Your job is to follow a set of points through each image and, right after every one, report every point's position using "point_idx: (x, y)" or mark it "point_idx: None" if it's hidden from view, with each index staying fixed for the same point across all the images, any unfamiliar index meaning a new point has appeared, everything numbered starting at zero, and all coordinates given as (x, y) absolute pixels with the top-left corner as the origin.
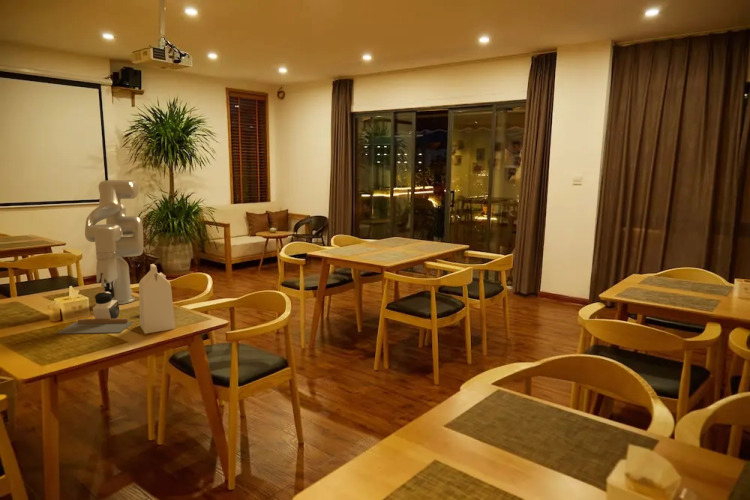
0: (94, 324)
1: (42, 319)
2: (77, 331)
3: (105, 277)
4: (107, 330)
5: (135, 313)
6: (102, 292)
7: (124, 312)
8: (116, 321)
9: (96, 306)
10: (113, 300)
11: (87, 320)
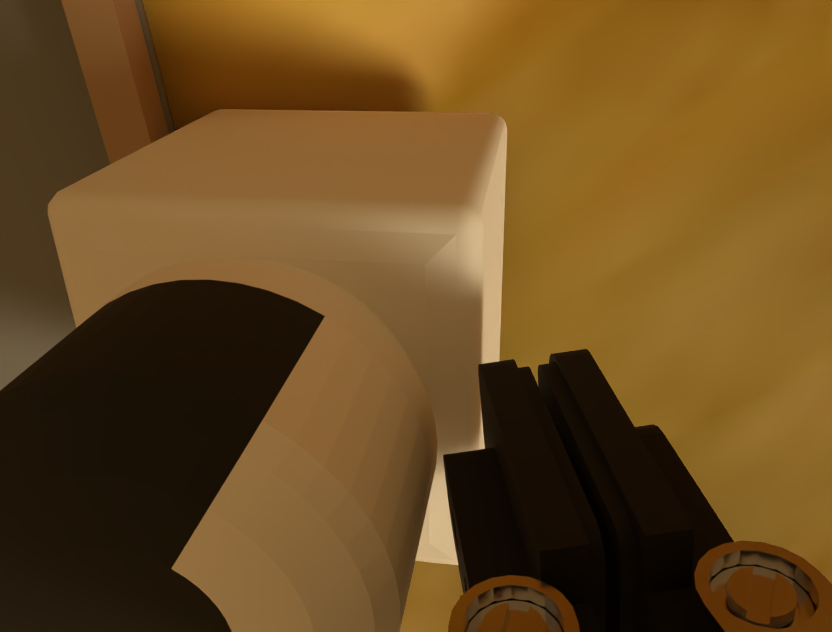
0: (70, 180)
1: None
2: None
3: None
4: None
5: (707, 414)
6: (210, 605)
7: (782, 242)
8: None
9: (105, 279)
10: (437, 517)
11: (73, 27)
